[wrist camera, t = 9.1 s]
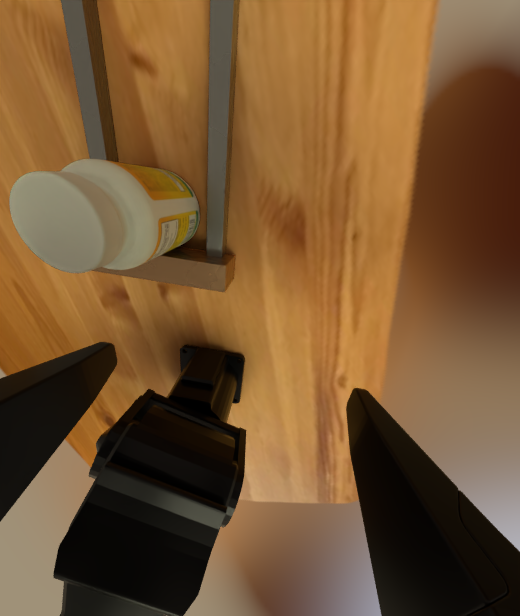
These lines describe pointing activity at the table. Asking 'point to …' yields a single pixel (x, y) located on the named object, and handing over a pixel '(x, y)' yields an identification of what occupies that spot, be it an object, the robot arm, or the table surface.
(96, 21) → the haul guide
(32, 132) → the table surface
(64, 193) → the supplement bottle
